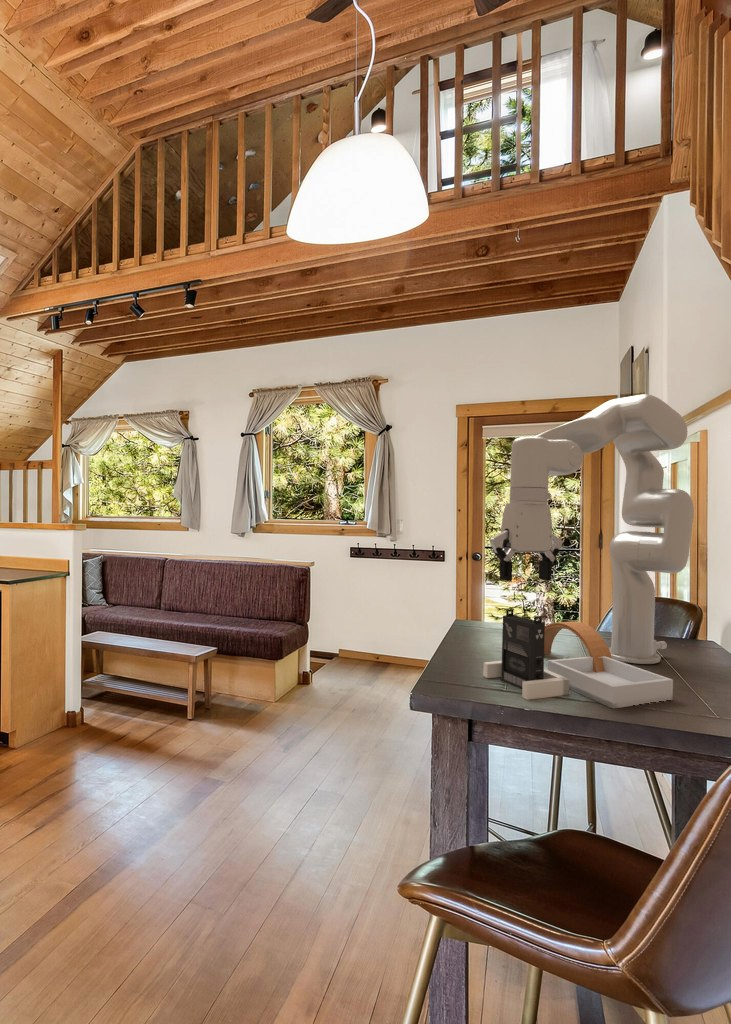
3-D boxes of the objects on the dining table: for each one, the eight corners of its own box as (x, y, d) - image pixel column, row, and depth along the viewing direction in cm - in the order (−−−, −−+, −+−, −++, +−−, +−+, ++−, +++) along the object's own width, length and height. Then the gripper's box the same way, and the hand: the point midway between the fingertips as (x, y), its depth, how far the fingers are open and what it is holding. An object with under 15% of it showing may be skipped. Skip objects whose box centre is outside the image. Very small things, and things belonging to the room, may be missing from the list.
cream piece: (521, 672, 120) (522, 658, 120) (569, 694, 106) (569, 679, 106) (483, 676, 116) (483, 662, 116) (526, 699, 102) (527, 684, 102)
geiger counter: (551, 691, 107) (553, 616, 107) (534, 694, 105) (536, 618, 105) (514, 676, 117) (516, 607, 117) (498, 679, 115) (500, 609, 115)
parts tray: (601, 672, 121) (602, 655, 121) (672, 700, 104) (673, 679, 104) (547, 678, 116) (547, 660, 116) (612, 708, 99) (613, 686, 99)
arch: (595, 676, 118) (595, 630, 118) (531, 656, 136) (531, 617, 136) (614, 673, 120) (613, 628, 120) (549, 654, 138) (548, 615, 139)
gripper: (550, 499, 117) (547, 577, 117) (482, 495, 111) (479, 578, 111) (575, 499, 110) (572, 582, 110) (503, 494, 104) (500, 583, 104)
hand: (525, 580), depth 111 cm, fingers open, 9 cm apart
